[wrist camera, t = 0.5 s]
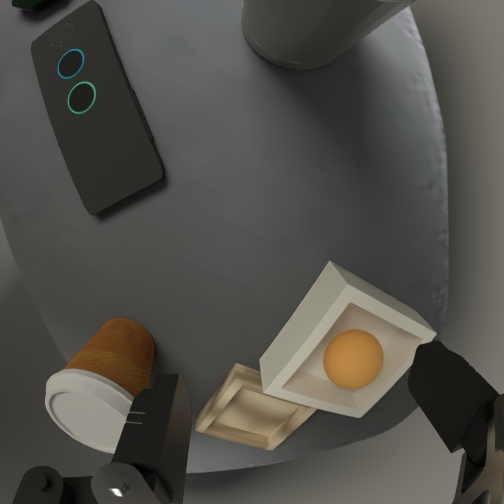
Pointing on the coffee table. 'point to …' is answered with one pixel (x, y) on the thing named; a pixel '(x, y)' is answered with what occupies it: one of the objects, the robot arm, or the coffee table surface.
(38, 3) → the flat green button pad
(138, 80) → the coffee table surface
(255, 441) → the tray
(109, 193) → the smart home device
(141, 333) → the disposable coffee cup
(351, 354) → the ball
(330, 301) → the white square bin
